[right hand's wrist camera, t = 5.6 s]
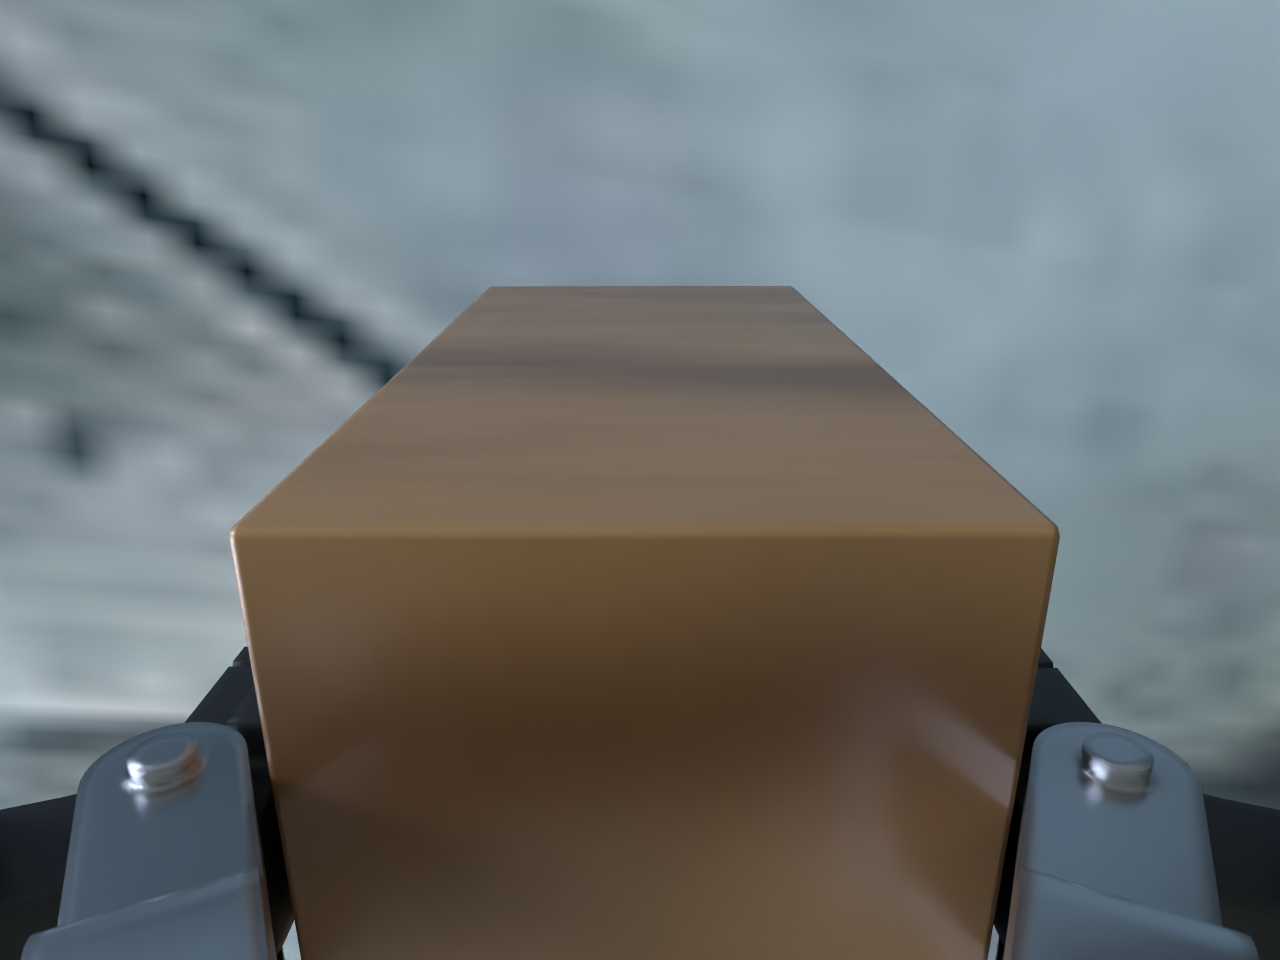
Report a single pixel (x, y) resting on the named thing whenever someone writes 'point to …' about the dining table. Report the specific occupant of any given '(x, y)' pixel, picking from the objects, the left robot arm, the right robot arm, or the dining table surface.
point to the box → (644, 645)
